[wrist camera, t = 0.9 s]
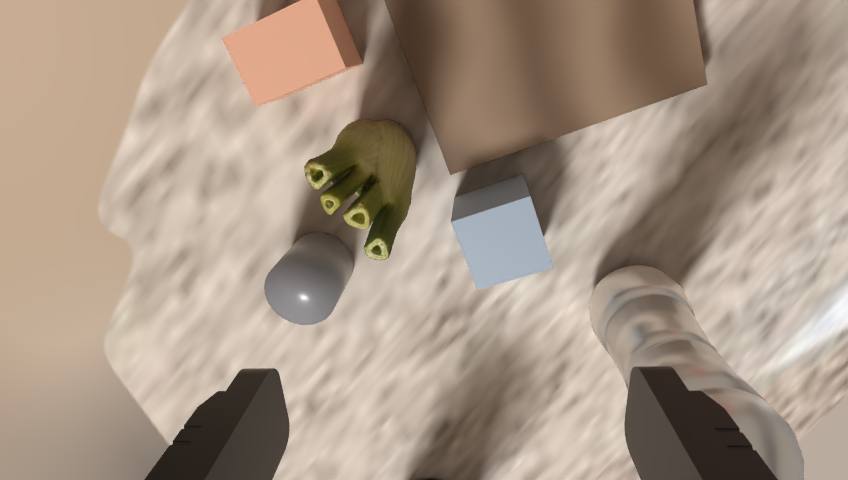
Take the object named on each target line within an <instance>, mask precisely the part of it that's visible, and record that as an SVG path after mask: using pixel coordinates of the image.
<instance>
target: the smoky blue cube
mask: <svg viewBox="0 0 848 480" xmlns="http://www.w3.org/2000/svg"><path fill="white" fill-rule="evenodd" d="M451 224H452V226H453V229H454V231H455V234H456V236H457V239H458V241H459V244H460V247H461V249H462V252H463V254H464V257H465V259H466V262H467V265H468V267H469V270H470V272H471V275H472V277H473V280H474V282H475V285H476V288H477V290H479V289H482V288H486V287H489V286H493V285H496V284H500V283H503V282H507V281H510V280H514V279H517V278H521V277H524V276H528V275H531V274H535V273H538V272H542V271H545V270H549V269H552V268H553V265H552V262H551V259H550V256H549V252H548V249H547V246H546V243H545V240H544V237H543V234H542V231H541V228H540V224H539V221H538V218H537V215H536V212H535V209H534V206H533V203H532V199H531V196H530V193H529V190H528V187H527V184H526V181H525V178H524V175H523V174H522V175H519V176H516V177H513V178H510V179H507V180H504V181H501V182H498V183H495V184H492V185H489V186H486V187H483V188H480V189H477V190H474V191H472V192H469V193H466V194H463V195H460V196H457V197H455V198H454V205H453V211H452V218H451Z"/></svg>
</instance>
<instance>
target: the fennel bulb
mask: <svg viewBox="0 0 848 480" xmlns="http://www.w3.org/2000/svg"><path fill="white" fill-rule="evenodd" d="M304 167H305V176H306V178H307V179H308V181H309V184H310V185H311V186H312V187H313V188H314V189H316V190H318V189H321V188H323V187H324V186H325V185H328V184H329V183H331V184H332V185H333V186H331V187H330V188H328V189H327V190H326V191H325V192H323V193H322V195H321V198H320V202H321V205H322V207H323V209H324V211H325V212H326V213H327V214H329V215H331V214H333V213H334V211H335V210H336V209H337V208H338V207H340V206H341V205H342V204H343V203H344V202H345V201H346V200H347V199H348V198H350V197H351V196H352V195H353V194H354V193H355V194H356V195H357V196H358V198H357V199H356V200H355V201H354V202H353V203H352V204H351V206H350V207H349V208H348V209H347V211H346V212H345V213H344V215H343V217H344V219H345V221H346V222H347V224H348V225H350V226H353V227H356V228H359V229H367V228H368V227H369V226H370V225H371V223H372V222H373V224H372V226H371V229H370V231H369V235H368V237H367V241H366V244H365V245H364V250H365V254H366V255H367V256H368V257H369V258H373V259H375V260H385V259H387V258H388V257H389V255H390V253H391V250H392V245H393V243H394V239H395V236H396V233H397V231H398V229H399V228H400V226H401V224H402V222H403V221H404V220H405V218H406V216H407V214H408V209H409V206H410V204H411V194H412V188H413V183H414V178H415V171H416V152H415V145H414V142H413V140H412V138H411V136H410V134H409V133H408V131H407V130H406V129H405V128H404V127H402V126H401V125H400V124H399V123H397V122H395V121H391V120H382V121H373V120H369V119H364V120H357V121H355V122H352V123H350V124H348V125H347V126H346V127H345V128H344V129H343V130H342V131H341V133H340V134H339V135H338V137H337V139H336V142H335V144H334V146H333V147H332V149H330V150H329V151H327V152H326V153H324V154H322V155H320V156H318V157H316V158H313V159H310V160H309V161H308V162H307V163H306V165H305V166H304Z"/></svg>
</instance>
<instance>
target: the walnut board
mask: <svg viewBox="0 0 848 480" xmlns="http://www.w3.org/2000/svg"><path fill="white" fill-rule="evenodd" d="M385 3H386V5H387V8H388V11H389V13H390V16H391V19H392V21H393V24H394V27H395V29H396V32H397V35H398V37H399V40H400V42H401V45H402V48H403V50H404V53H405V56H406V58H407V61H408V64H409V66H410V69H411V72H412V74H413V77H414V80H415V82H416V85H417V88H418V90H419V93H420V96H421V98H422V101H423V104H424V106H425V109H426V112H427V114H428V117H429V119H430V122H431V125H432V127H433V130H434V133H435V135H436V138H437V141H438V143H439V146H440V149H441V151H442V154H443V157H444V159H445V162H446V165H447V167H448V170H449V173H450V175H452V174H454V173H457V172H460V171H463V170H466V169H469V168H471V167H474V166H477V165H480V164H483V163H486V162H489V161H491V160H494V159H497V158H500V157H503V156H506V155H508V154H511V153H514V152H517V151H520V150H523V149H525V148H528V147H531V146H534V145H537V144H540V143H542V142H545V141H548V140H551V139H554V138H557V137H560V136H562V135H565V134H568V133H571V132H574V131H577V130H579V129H582V128H585V127H588V126H591V125H594V124H596V123H599V122H602V121H605V120H608V119H611V118H614V117H616V116H619V115H622V114H625V113H628V112H631V111H633V110H636V109H639V108H642V107H645V106H648V105H650V104H653V103H656V102H659V101H662V100H665V99H668V98H670V97H673V96H676V95H679V94H682V93H685V92H687V91H690V90H693V89H696V88H699V87H702V86H704V85H707V80H706V74H705V68H704V62H703V56H702V50H701V44H700V39H699V33H698V27H697V21H696V15H695V9H694V3H693V0H385Z"/></svg>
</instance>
